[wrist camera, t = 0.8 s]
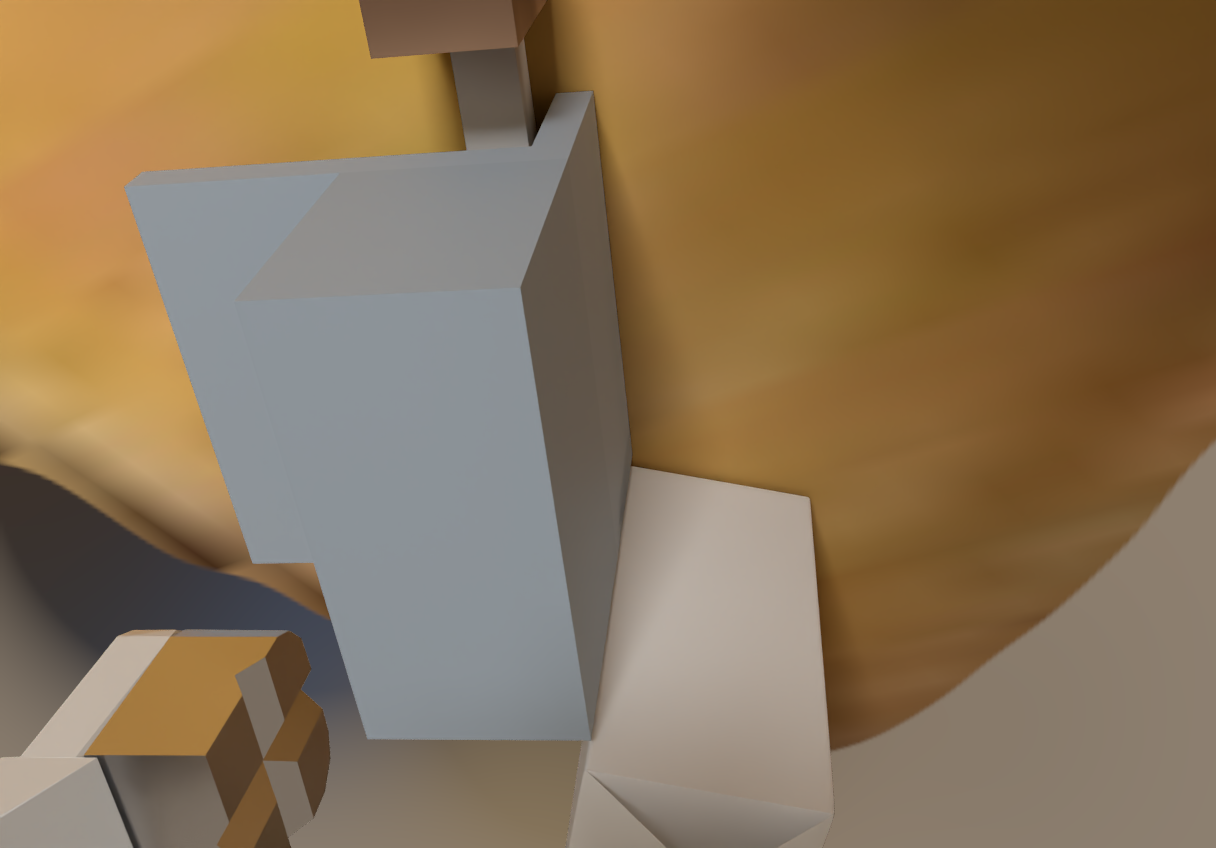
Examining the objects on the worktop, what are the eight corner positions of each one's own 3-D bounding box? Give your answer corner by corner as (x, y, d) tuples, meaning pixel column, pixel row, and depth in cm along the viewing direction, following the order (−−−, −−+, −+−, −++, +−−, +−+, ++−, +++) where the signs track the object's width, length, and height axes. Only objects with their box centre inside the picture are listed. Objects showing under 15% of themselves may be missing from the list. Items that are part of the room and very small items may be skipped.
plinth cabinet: (208, 118, 38) (-33, 314, 26) (593, 90, 36) (520, 287, 25) (308, 463, 46) (155, 737, 34) (632, 454, 44) (591, 740, 32)
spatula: (398, -137, 33) (337, -105, 28) (532, -150, 33) (494, -120, 28) (489, 368, 42) (454, 460, 37) (595, 364, 42) (575, 456, 37)
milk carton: (603, 598, 48) (533, 1049, 32) (629, 461, 44) (564, 898, 28) (770, 627, 48) (784, 1094, 32) (811, 493, 44) (848, 949, 28)
